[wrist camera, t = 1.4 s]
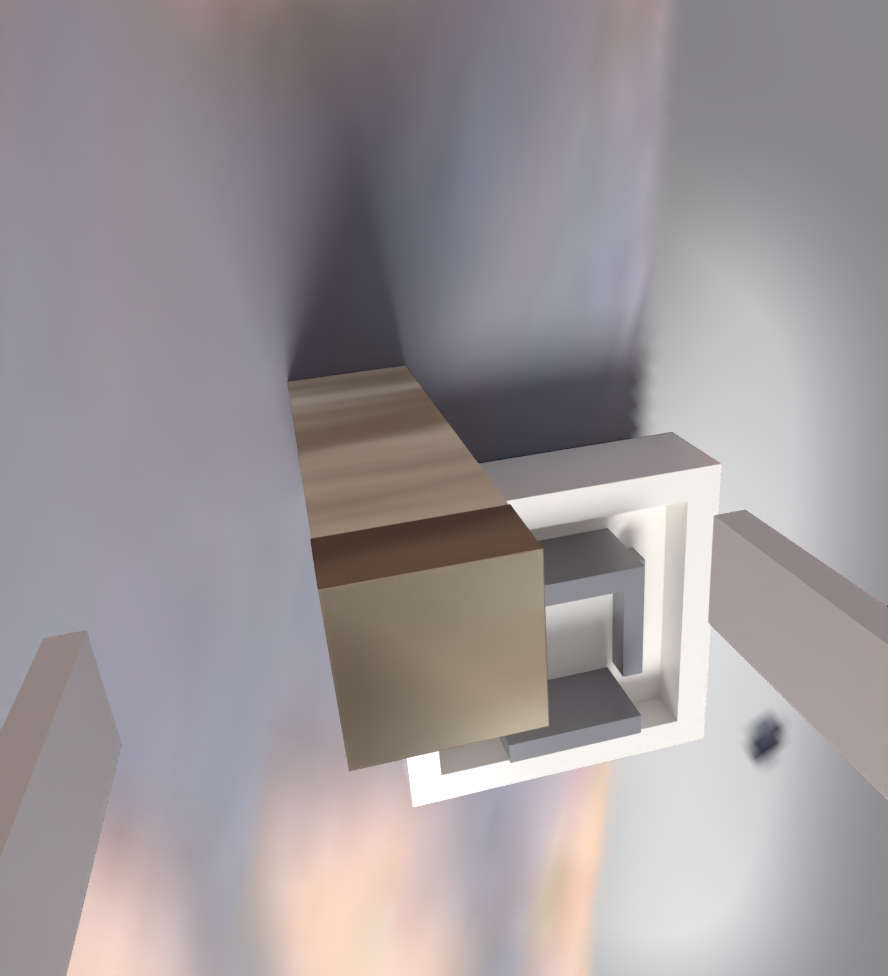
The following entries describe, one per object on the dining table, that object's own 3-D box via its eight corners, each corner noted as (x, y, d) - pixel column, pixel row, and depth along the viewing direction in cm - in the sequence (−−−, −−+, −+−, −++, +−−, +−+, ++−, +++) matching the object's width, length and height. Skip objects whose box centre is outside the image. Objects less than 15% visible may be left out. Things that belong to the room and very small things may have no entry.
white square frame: (361, 482, 28) (382, 544, 23) (672, 432, 30) (746, 480, 25) (397, 744, 33) (420, 837, 28) (662, 685, 35) (723, 764, 30)
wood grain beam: (286, 381, 26) (317, 590, 13) (406, 364, 27) (543, 548, 14) (305, 491, 28) (348, 771, 15) (417, 473, 28) (549, 726, 16)
